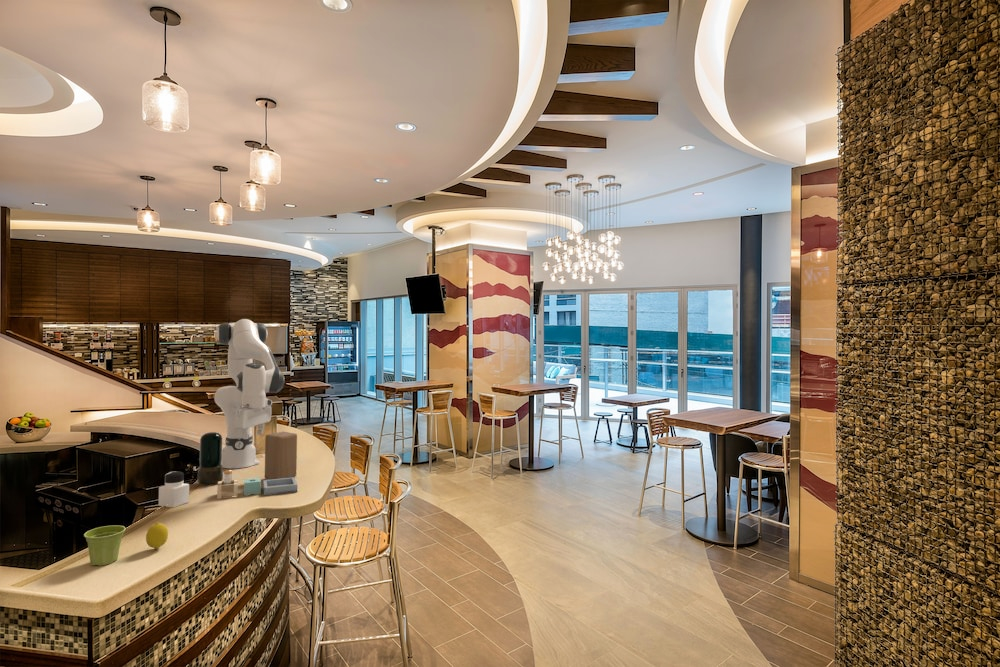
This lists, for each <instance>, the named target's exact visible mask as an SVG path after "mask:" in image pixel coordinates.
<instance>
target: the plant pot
mask: <svg viewBox="0 0 1000 667" xmlns="http://www.w3.org/2000/svg"><path fill="white" fill-rule="evenodd" d="M126 529H127V528H126V527H125V526H124V525H114V524H113V525H105V526H99V527H95V528H93V529H90V530H87V531H86V532H85V533H84V534H83V537H84V538H85V540H86V542H87V548H88V557H89V562H90V565H91V566H106V565H110V564H113V563H114V562H115V561H117V560H118V558H119V552H120V547H121V543H122V537H123V535H124V532H125V531H126Z"/></svg>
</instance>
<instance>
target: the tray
mask: <svg viewBox="0 0 1000 667" xmlns="http://www.w3.org/2000/svg"><path fill="white" fill-rule="evenodd" d="M262 482H263V483H262V488H263V493H264V494H263V495H264V496H273V495H282V494H290V493H291V494H292V493H298V482H297V480H296V476H295V477H292V478H282V479H272V480H270V479H264V480H262Z"/></svg>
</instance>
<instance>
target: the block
mask: <svg viewBox="0 0 1000 667" xmlns="http://www.w3.org/2000/svg"><path fill="white" fill-rule="evenodd" d="M264 444H265V445H264V448H265V449H264V451H265V452H264V478H265V480H272V479H282V478H292V477H295V478H296V477H297V468H298V467H297V465H298V464H297V461H298V454H297V453H298V435H297V433H294V432H288V431H279V432H274V433H269V434H266V435H265V443H264Z"/></svg>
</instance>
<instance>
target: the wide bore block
mask: <svg viewBox="0 0 1000 667" xmlns="http://www.w3.org/2000/svg"><path fill="white" fill-rule="evenodd" d="M232 496H237V497H238V479H232V480H231V484H226V485H224V480H222V481H219V482H218V484H217V496H216V497H217V498H221V499H225V498H224V497H230V498H233V497H232ZM217 498H216V499H217Z"/></svg>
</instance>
